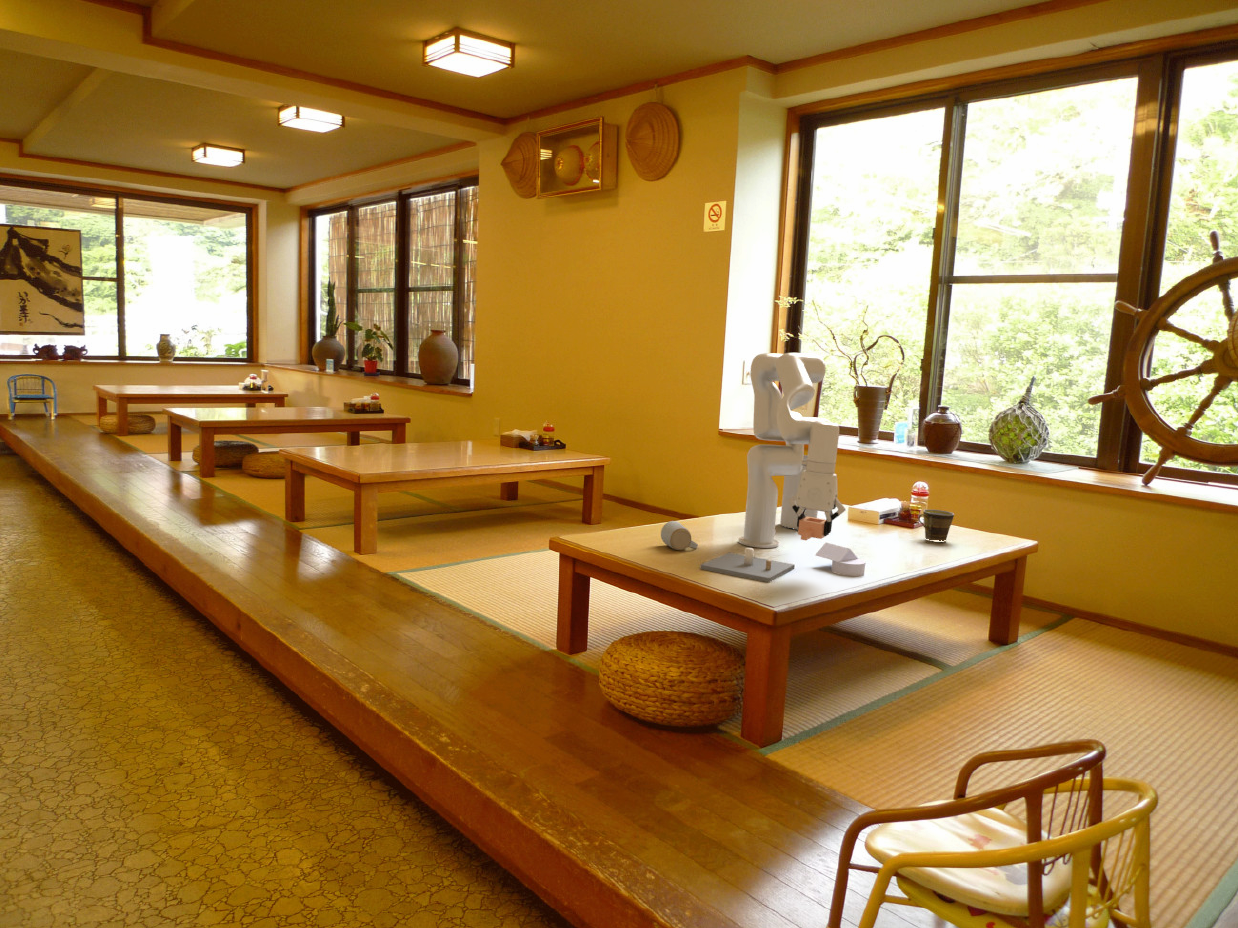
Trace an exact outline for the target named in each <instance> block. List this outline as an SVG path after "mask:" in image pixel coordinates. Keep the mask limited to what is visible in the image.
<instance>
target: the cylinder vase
mask: <svg viewBox="0 0 1238 928" xmlns="http://www.w3.org/2000/svg"><path fill="white" fill-rule="evenodd" d="M807 456H808V454H807V455H806V454H804V458H803V461H806V460H807ZM805 468H806V467H805V466H803V467H802V470H801V472H800V473H799V474H798V475H795V476H783V477H784V479H783V489H782V498H781V499H782V500H781V511H780V513H781V514H780V522H779V523H780V526H782V527H783V526H784V527H783V528H786V527H788V528H787V529H789V528H794V529H793V530H795V529H798V527H797V520H798V516H797V514H796V512H795V511H794V510H793V508H792V506H791V505H790V504H789V502H788V500H789V499H790V498H791V497H793V496H794V495H796V494H797V492H798V487H799V482H800V478H801V475H802V472H803V471H804V470H806V469H805ZM795 502H796V501H795ZM818 513H819V511H817V510H811V509H806V511H805V512H804V515H805V517H807V516H808V517H814V518H818Z"/></svg>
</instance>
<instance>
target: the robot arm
mask: <svg viewBox="0 0 1238 928" xmlns="http://www.w3.org/2000/svg"><path fill="white" fill-rule="evenodd" d="M826 369H827V368H826V363H825V360H824V359H823V358H822V357H821V355H820V354H819V355H818V354H816V353H807V352H806V353H804V352H785V353H776V352H775V353H774V352H773V353H772V352H765V353H760V354H757V355H756V356H755V357H754V358H753V359H752V362H751V364H750V382H751V385H752V389H753V396H754V397H753V398H754V399H753V402H754V403H753V424H752V425H753V435H754V437H755V438H756V439H758V440H763V441H771V442H772V441H775V442H785V445H779V444H778V445H777V444H756V445H754V446H752V447H750V449H748V452H747V456H746V463H747V491H746V492H747V493H746V503H745V504H746V505H745V517H744V526H743V528H744V529H743V536H740V537H738V541H737V542H738V543H740V544H741V545H743V546H747V547H750V548H752V547H753V548H758V549H759V548H760V549H774V548H776V547H778V546H779V543H780V542H779V541H778V540H776V539H775V534H776V533H777V530H776V529H775V528H776V519H777V508H778V507H777V506H778V499H779V498H778V496H779V490H778V489H779V488H778V486H777V484H776V483H775V481H774V480H773V476H774V477H776V476H778V477H780V476H782V477H784V476H795V475H798V474H799V473H800V472H801V470H802V467H803V466H805V467H806V468H805V469H806V470H804V471H803V472H802V475H801V478H800V482H799V487H798V492H797V494H796V495H794V496H793V497H791V498H790V499H789V500H788V502H789V504H790V505H791V506H792V508H793V510H794V511H795V512H796V514H797V516H798V520H797V527H798V529H799V520H801V519H803V518H805V515H804V512H805V511H806V509H811V510H817V511H818V512H824V516H825V520H826V521H825V522H824V523H825V524H824V533H823V535H824V536H825V537H827V536H828V535H830V534H831V532H832V528H833V527H832V526H833V521H834V520H835V519H836V518H838V517H839V516H841V515H842V514H843V513H845V512H846V507H845V506H844V505H843V503H842V502H841V501H840V500H839V499H838V476H837V474H836V473H835V471H836V463H837V455H838V454H837V453H838V445H839V438H840V426H839V424H837V423H835V422H833V421H831V420H830V419H828V418H826V417H825V418H824V417H814V416H813V417H812V416H803V415H802V414H801V413H799V412H797V411H794V410H795V409H797V408H800V407H803V406H806V404H808V403H809V402H810V401H812V399H813V398H814V396H815V387H814V385H813V384H817V383H821V382H822V381H823V379H825V375H826ZM775 382H779V384H780V386H781V390H782V391H781V390H780V389H779V387H778V385H776V383H775ZM781 392H782V393H783V395H784V396H783V395H782V393H781ZM782 396H783V397H782ZM792 410H793V411H792ZM805 445H808V446H807V447H808V448H807V455H808V456H807V460H806V461H803V458H804V455H805V454H804V452H805ZM795 501H796V502H795ZM836 508H837V510H836V511H835V512H834V513H833V510H835V509H836Z"/></svg>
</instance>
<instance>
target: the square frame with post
mask: <svg viewBox="0 0 1238 928" xmlns="http://www.w3.org/2000/svg"><path fill="white" fill-rule="evenodd" d="M825 521H826V518H825V519H824V518H819V517H817V518H814V517H808V516H807V517H805V518H803V519H801V520H799V529H798V530H797V535H798V536H800V540H801V541H808V540H810V539H811V538H813V539H820V540H822V539H823V538H825V537H826V536H824V535H823V533H824V524H825V523H824V522H825Z"/></svg>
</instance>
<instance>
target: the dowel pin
mask: <svg viewBox="0 0 1238 928" xmlns="http://www.w3.org/2000/svg"><path fill="white" fill-rule="evenodd" d="M771 560H772V559H767V560H766V570H771Z"/></svg>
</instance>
